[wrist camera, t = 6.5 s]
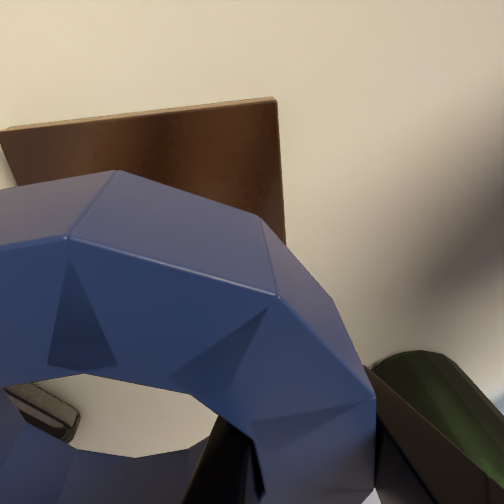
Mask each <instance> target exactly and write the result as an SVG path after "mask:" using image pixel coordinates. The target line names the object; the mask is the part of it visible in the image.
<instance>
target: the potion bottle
mask: <svg viewBox="0 0 504 504" xmlns="http://www.w3.org/2000/svg"><path fill="white" fill-rule="evenodd" d="M372 372H373V373H375V374H376V375H377V376H378V377H379V378H380V379H381V380H382V381H384V382H385V383H386V384H387V385H388V386H389V387H390V388H391V389H393V390H394V391H395V392H396V393H397V394H398V395H399V396H400V397H401V398H403V399H404V400H405V401H406V402H407V403H408V404H409V405H410V406H412V407H413V408H414V409H415V410H416V411H417V412H418V413H419V414H421V415H422V416H423V417H424V418H425V419H426V420H427V421H428V422H430V423H431V424H432V425H433V426H434V427H435V428H436V429H437V430H439V431H440V432H441V433H442V434H443V435H444V436H445V437H446V438H448V439H449V440H450V441H451V442H452V443H453V444H454V445H455V446H457V447H458V448H459V449H460V450H461V451H462V452H463V453H464V454H465V455H467V456H468V457H469V458H470V459H471V460H472V461H473V462H474V463H476V464H477V465H478V466H479V467H480V468H481V469H482V470H483V471H485V472H486V473H487V475H488V477H491V478H493V479H494V480H495V481H496V482H497V483H498V484H499V485H500V486H502V487H503V488H504V416H503V414H502V413H501V412H500V411H499V410H498V409H497V408H496V407H495V406H494V405H493V403H492V402H491V401H490V400H489V399H488V398H487V397H486V396H485V395H484V394H483V392H482V391H481V390H480V389H479V388H478V387H477V386H476V385H475V384H474V383H473V381H472V380H471V379H470V378H469V377H468V376H467V375H466V374H465V373H464V371H463V370H462V369H461V368H460V367H459V366H458V365H457V364H456V363H455V362H454V361H452V360H451V359H449V358H448V357H446V356H445V355H443V354H440V353H434V352H428V351H421V350H420V351H413V352H406V353H401V354H399V355H397V356H394V357H392V358H390V359H388V360H385V361H384V362H382V363H381V364H380V365H379V366H378V367H377V368H375V369H374V370H373V371H372Z"/></svg>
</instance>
